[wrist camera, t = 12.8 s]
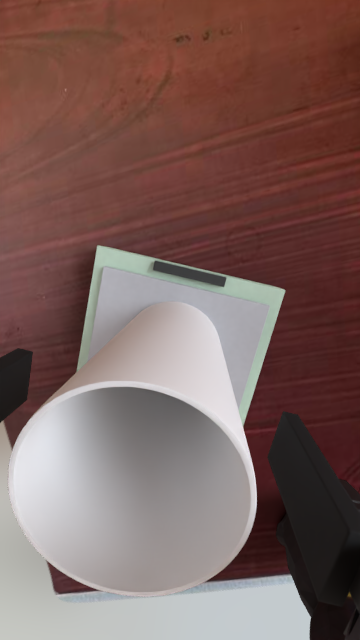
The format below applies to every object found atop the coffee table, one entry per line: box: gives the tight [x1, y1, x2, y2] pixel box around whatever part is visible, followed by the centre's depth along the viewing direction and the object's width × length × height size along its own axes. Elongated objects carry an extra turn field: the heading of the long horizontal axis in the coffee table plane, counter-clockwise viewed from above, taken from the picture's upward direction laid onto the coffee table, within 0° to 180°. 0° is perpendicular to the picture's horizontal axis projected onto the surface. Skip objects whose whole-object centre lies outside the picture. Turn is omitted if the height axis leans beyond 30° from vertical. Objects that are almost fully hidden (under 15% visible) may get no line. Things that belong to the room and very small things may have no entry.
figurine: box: [276, 513, 356, 640], centre depth 24 cm, size 10×7×15 cm
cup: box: [8, 301, 257, 597], centre depth 17 cm, size 8×8×16 cm
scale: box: [77, 245, 285, 426], centre depth 27 cm, size 16×14×3 cm
